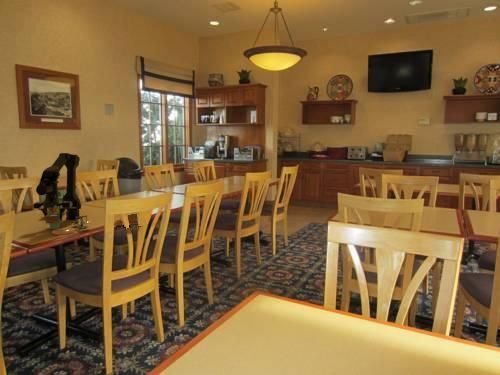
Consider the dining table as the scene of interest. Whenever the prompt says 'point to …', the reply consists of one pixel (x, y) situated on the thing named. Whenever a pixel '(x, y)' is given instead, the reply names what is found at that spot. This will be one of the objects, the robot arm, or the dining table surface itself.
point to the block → (54, 224)
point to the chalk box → (56, 208)
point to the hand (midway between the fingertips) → (54, 219)
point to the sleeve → (53, 218)
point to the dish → (63, 231)
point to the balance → (81, 222)
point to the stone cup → (131, 218)
